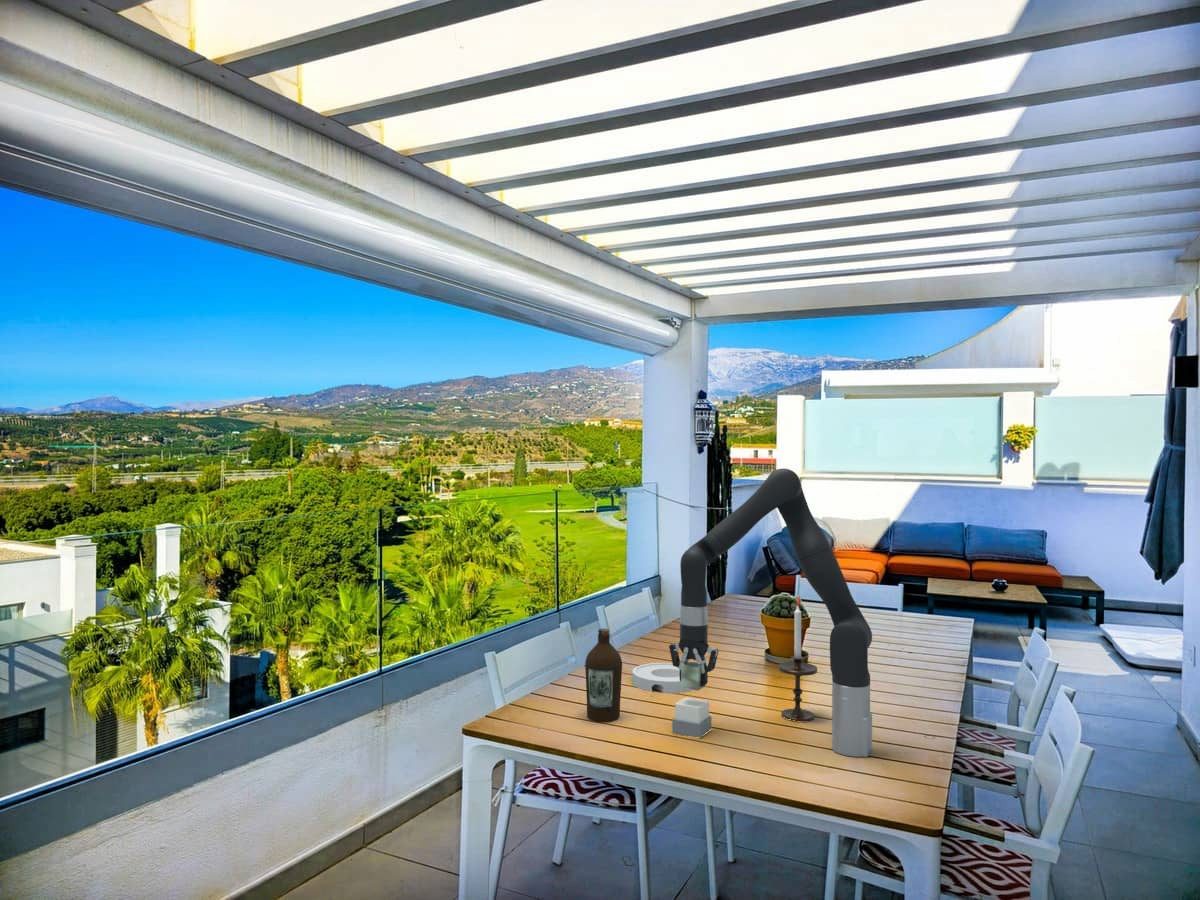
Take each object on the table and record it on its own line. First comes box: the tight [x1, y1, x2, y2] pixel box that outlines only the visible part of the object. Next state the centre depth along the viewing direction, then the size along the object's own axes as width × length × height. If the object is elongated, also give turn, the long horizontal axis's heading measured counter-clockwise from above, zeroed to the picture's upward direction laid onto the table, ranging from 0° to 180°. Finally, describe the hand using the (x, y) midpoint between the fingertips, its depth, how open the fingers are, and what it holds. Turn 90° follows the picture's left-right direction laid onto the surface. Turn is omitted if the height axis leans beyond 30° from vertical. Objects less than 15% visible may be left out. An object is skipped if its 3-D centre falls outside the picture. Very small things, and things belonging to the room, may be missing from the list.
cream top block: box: [674, 696, 710, 723], centre depth 211 cm, size 7×7×4 cm
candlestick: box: [777, 594, 818, 722], centre depth 223 cm, size 11×11×35 cm
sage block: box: [681, 661, 706, 691], centre depth 210 cm, size 5×5×6 cm
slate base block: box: [671, 715, 712, 739], centre depth 210 cm, size 8×8×4 cm
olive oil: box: [584, 628, 623, 723], centre depth 222 cm, size 11×11×25 cm
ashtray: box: [631, 662, 693, 694], centre depth 257 cm, size 23×23×4 cm
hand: (693, 684), depth 210 cm, fingers closed on sage block, 5 cm apart
